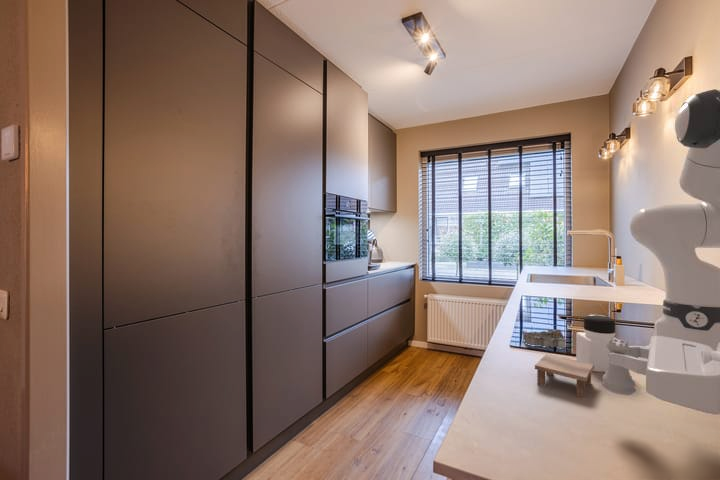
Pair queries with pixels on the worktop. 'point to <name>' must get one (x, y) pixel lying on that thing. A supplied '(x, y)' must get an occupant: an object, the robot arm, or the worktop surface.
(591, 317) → the medicine bottle
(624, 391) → the rook chess piece
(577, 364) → the footstool
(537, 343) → the mossy rock
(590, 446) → the worktop surface
